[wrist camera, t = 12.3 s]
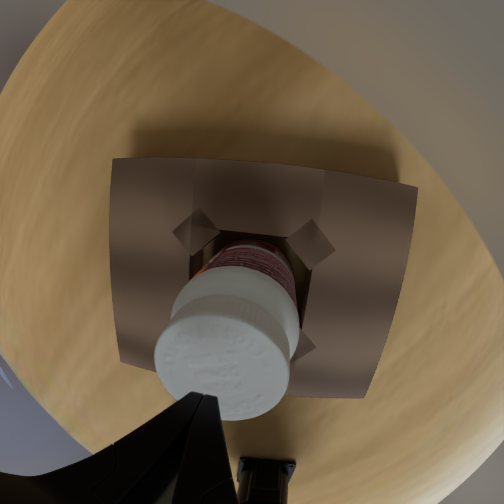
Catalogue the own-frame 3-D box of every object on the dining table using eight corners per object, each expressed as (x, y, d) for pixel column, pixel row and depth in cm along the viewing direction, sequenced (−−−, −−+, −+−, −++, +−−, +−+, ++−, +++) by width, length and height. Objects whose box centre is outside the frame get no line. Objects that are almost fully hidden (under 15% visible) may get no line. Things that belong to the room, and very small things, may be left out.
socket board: (356, 376, 21) (364, 398, 18) (136, 344, 23) (120, 361, 20) (399, 187, 17) (418, 187, 15) (133, 161, 19) (112, 158, 16)
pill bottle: (214, 232, 20) (134, 282, 9) (300, 243, 19) (321, 311, 8) (208, 310, 21) (147, 409, 10) (287, 322, 21) (285, 437, 10)
